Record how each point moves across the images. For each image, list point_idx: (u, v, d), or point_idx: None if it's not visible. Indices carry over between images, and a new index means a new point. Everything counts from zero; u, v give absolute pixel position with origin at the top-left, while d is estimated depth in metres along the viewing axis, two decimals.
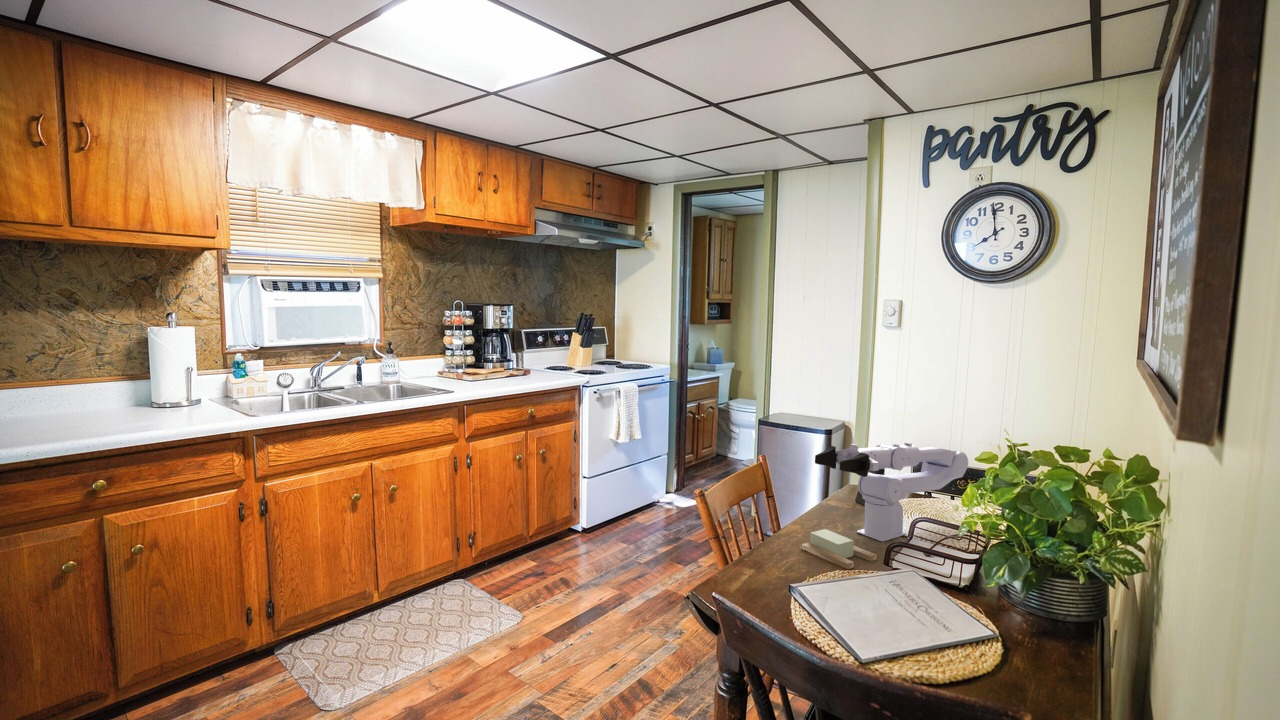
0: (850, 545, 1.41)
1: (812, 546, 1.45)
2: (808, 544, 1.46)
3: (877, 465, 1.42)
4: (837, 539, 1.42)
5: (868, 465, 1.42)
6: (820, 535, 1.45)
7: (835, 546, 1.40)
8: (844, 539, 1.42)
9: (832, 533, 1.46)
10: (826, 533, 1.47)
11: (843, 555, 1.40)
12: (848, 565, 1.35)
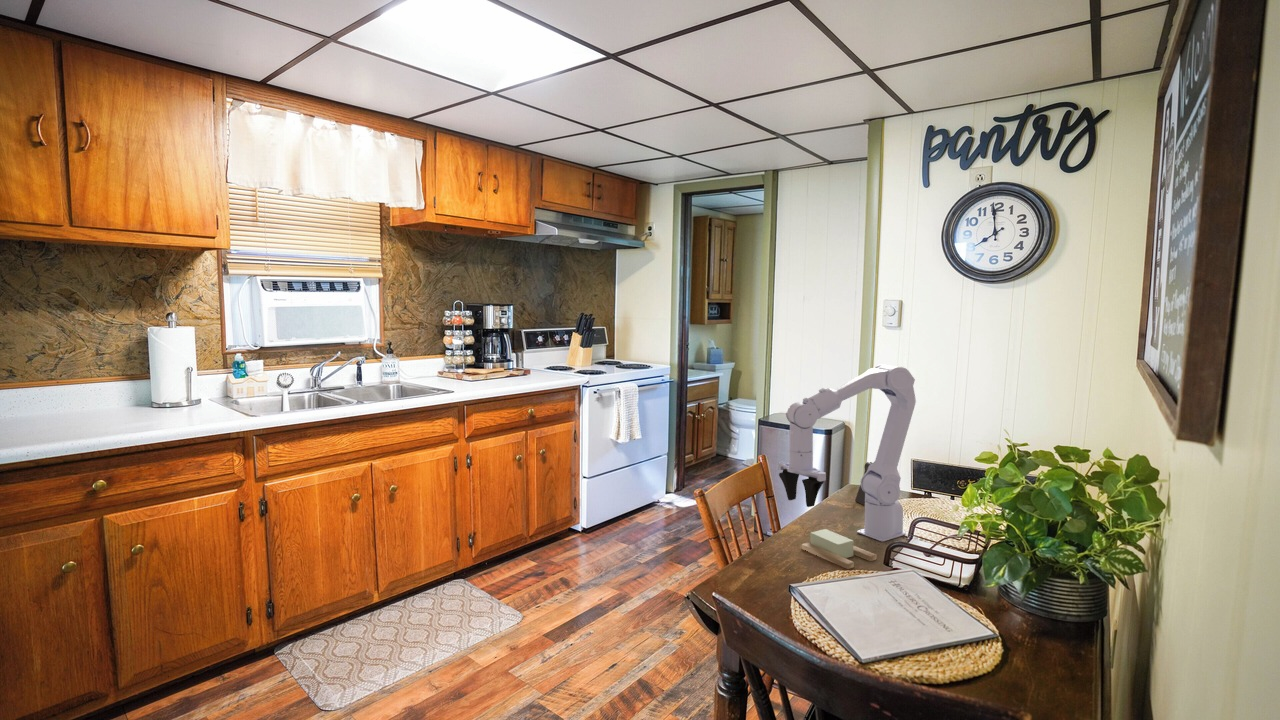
0: (850, 545, 1.41)
1: (812, 546, 1.45)
2: (808, 544, 1.46)
3: (822, 475, 1.46)
4: (837, 539, 1.42)
5: (817, 481, 1.47)
6: (820, 535, 1.45)
7: (835, 546, 1.40)
8: (844, 539, 1.42)
9: (832, 533, 1.46)
10: (826, 533, 1.47)
11: (843, 555, 1.40)
12: (848, 565, 1.35)
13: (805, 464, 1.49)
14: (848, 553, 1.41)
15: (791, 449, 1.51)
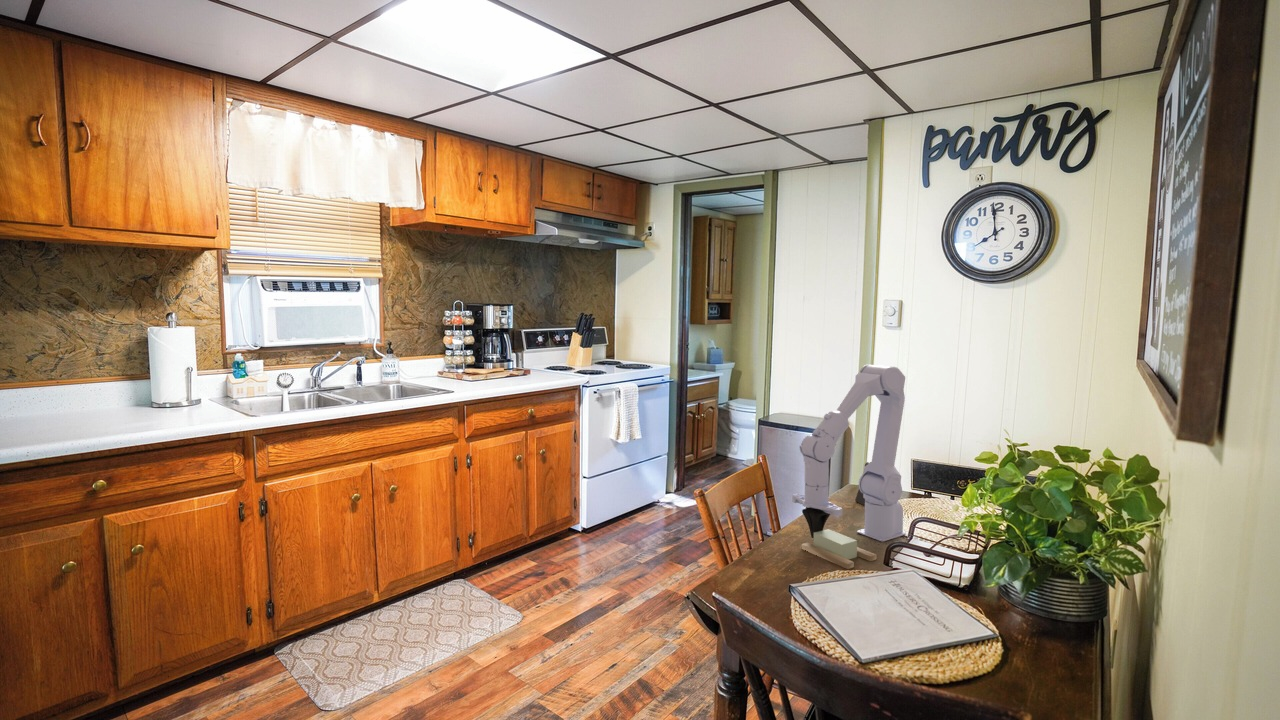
0: (854, 545, 1.40)
1: (812, 546, 1.45)
2: (808, 544, 1.46)
3: (838, 511, 1.42)
4: (840, 539, 1.42)
5: (824, 513, 1.46)
6: (823, 536, 1.44)
7: (838, 546, 1.39)
8: (848, 539, 1.41)
9: (835, 533, 1.46)
10: (830, 533, 1.46)
11: (847, 555, 1.40)
12: (848, 565, 1.35)
13: (820, 499, 1.45)
14: (852, 553, 1.40)
15: (808, 484, 1.46)
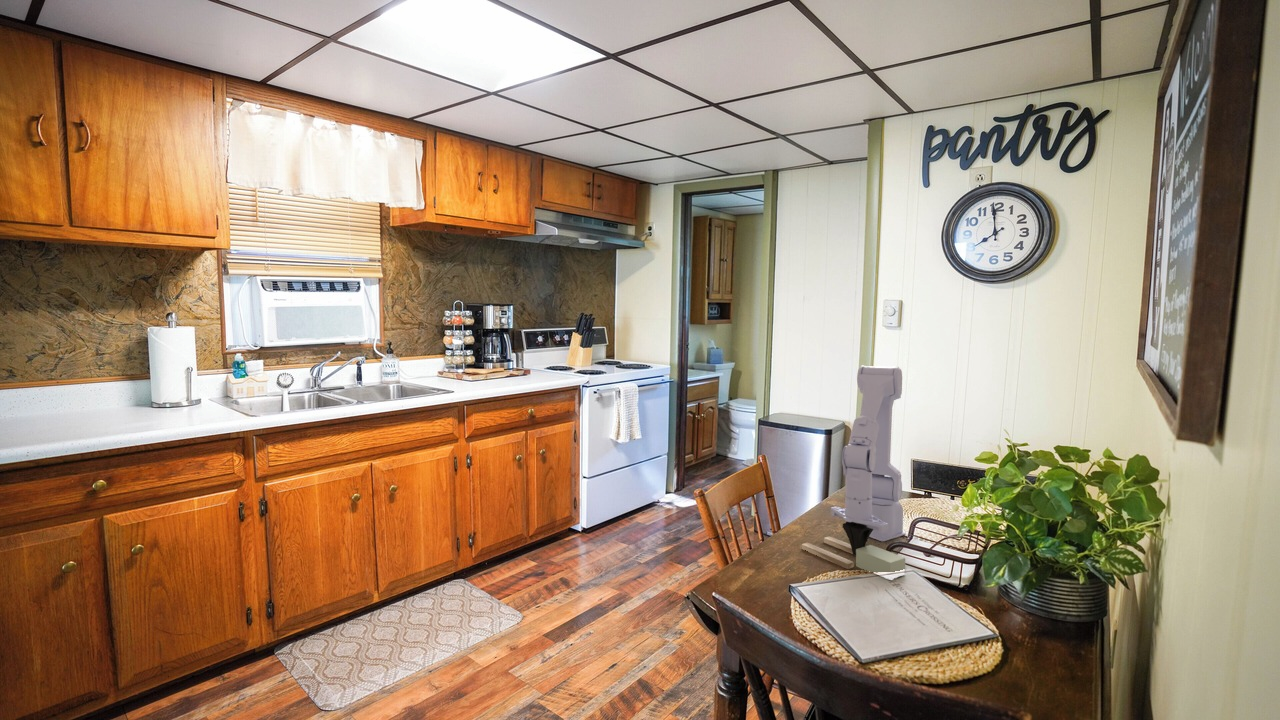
0: (902, 563, 1.30)
1: (812, 546, 1.45)
2: (808, 544, 1.46)
3: (884, 526, 1.31)
4: (887, 556, 1.31)
5: (867, 528, 1.35)
6: (867, 553, 1.33)
7: (887, 564, 1.29)
8: (895, 557, 1.31)
9: (879, 549, 1.35)
10: (874, 549, 1.35)
11: None
12: (848, 565, 1.35)
13: (863, 513, 1.34)
14: None
15: (858, 498, 1.34)
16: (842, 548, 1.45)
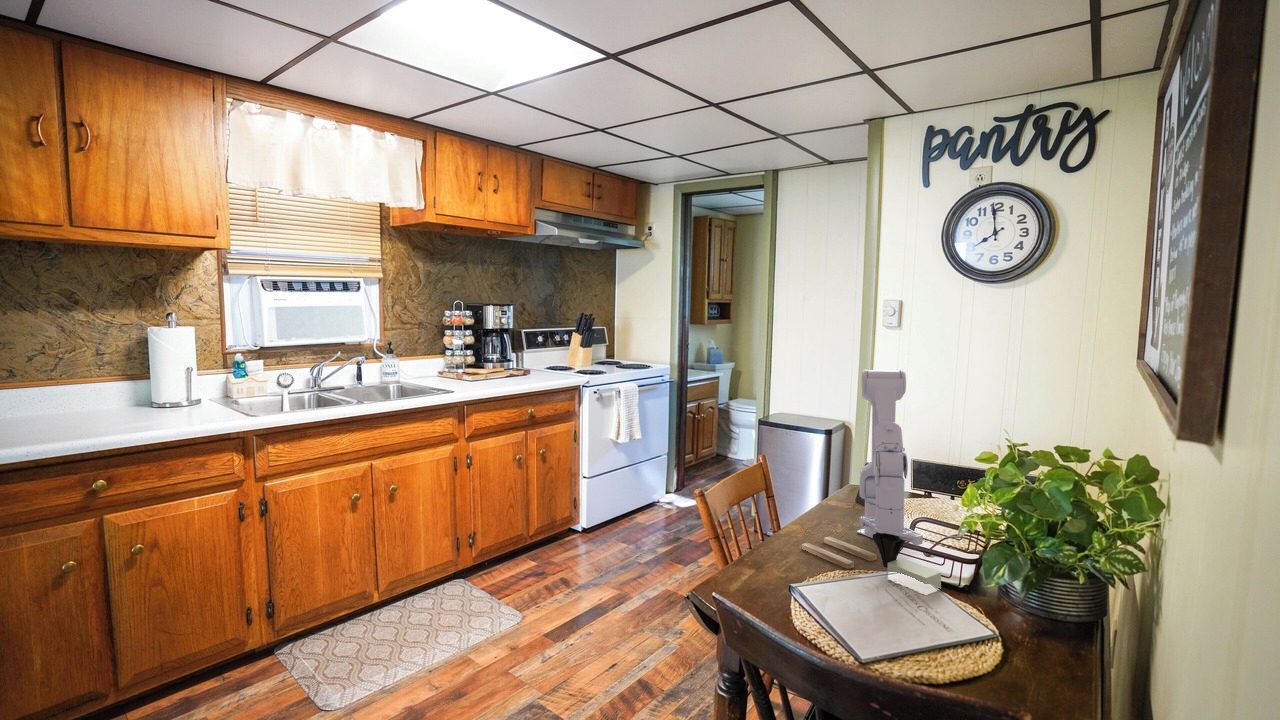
0: (938, 577, 1.23)
1: (812, 546, 1.45)
2: (808, 544, 1.46)
3: (919, 538, 1.24)
4: (922, 571, 1.24)
5: (899, 540, 1.28)
6: (900, 567, 1.26)
7: (922, 579, 1.22)
8: (930, 571, 1.24)
9: (912, 563, 1.28)
10: (906, 563, 1.28)
11: None
12: (848, 565, 1.35)
13: (896, 524, 1.27)
14: None
15: (894, 508, 1.27)
16: (842, 548, 1.45)
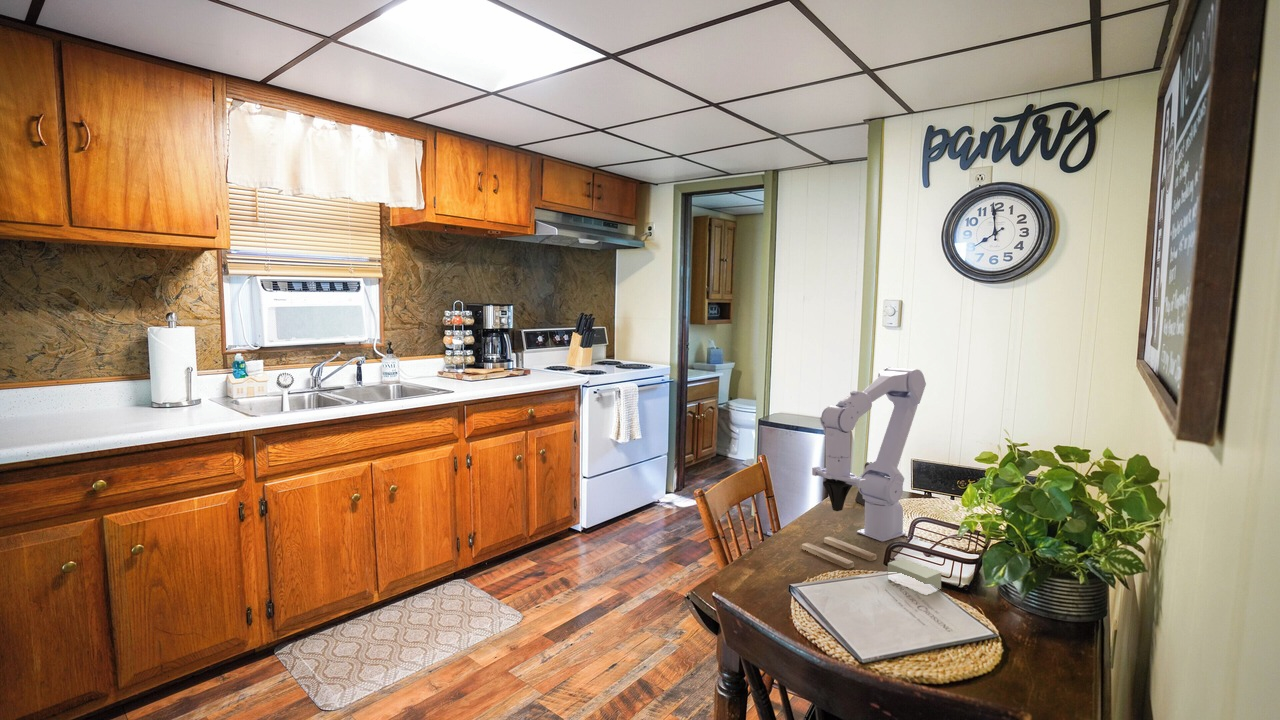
0: (938, 577, 1.23)
1: (812, 546, 1.45)
2: (808, 544, 1.46)
3: (862, 482, 1.40)
4: (922, 571, 1.24)
5: (846, 485, 1.44)
6: (900, 567, 1.26)
7: (922, 580, 1.22)
8: (930, 571, 1.24)
9: (912, 563, 1.28)
10: (906, 563, 1.28)
11: None
12: (848, 565, 1.35)
13: (842, 470, 1.43)
14: None
15: (832, 455, 1.44)
16: (842, 548, 1.45)
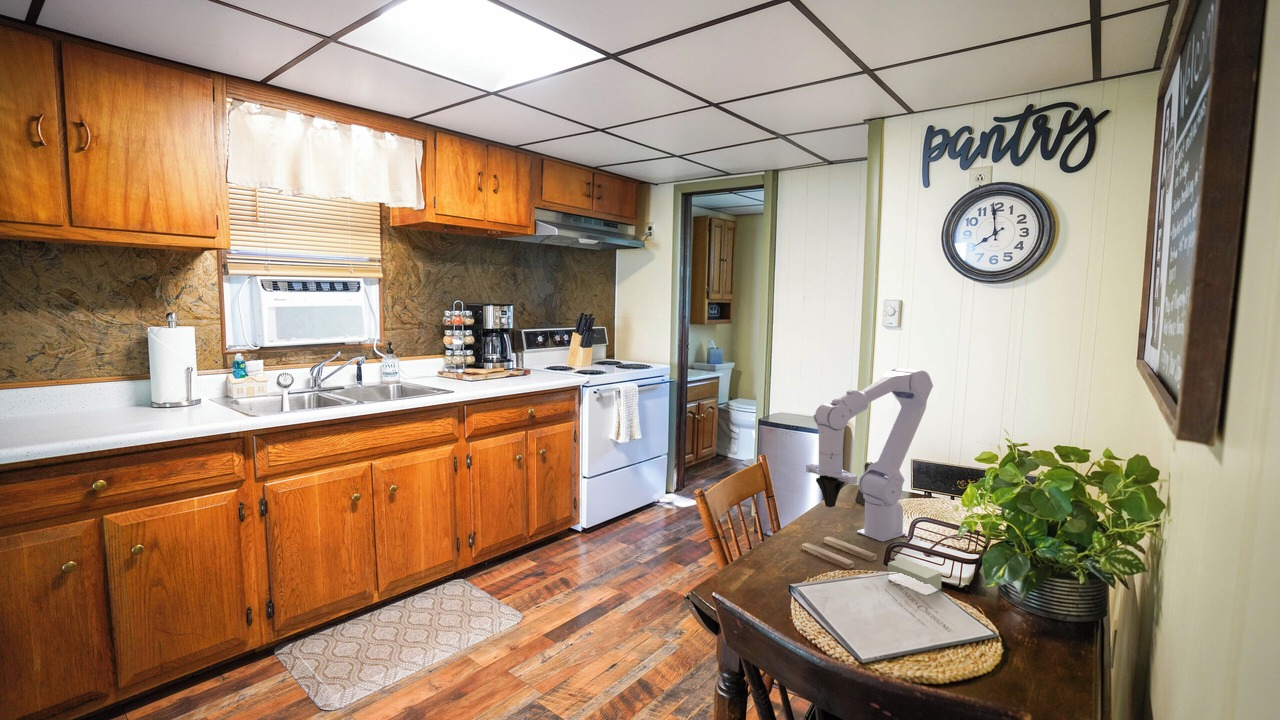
0: (938, 578, 1.23)
1: (812, 546, 1.45)
2: (808, 544, 1.46)
3: (853, 478, 1.43)
4: (922, 571, 1.24)
5: (838, 481, 1.47)
6: (900, 567, 1.26)
7: (922, 580, 1.22)
8: (930, 571, 1.24)
9: (912, 563, 1.28)
10: (907, 563, 1.28)
11: None
12: (848, 565, 1.35)
13: (835, 467, 1.46)
14: None
15: (822, 452, 1.47)
16: (842, 548, 1.45)
